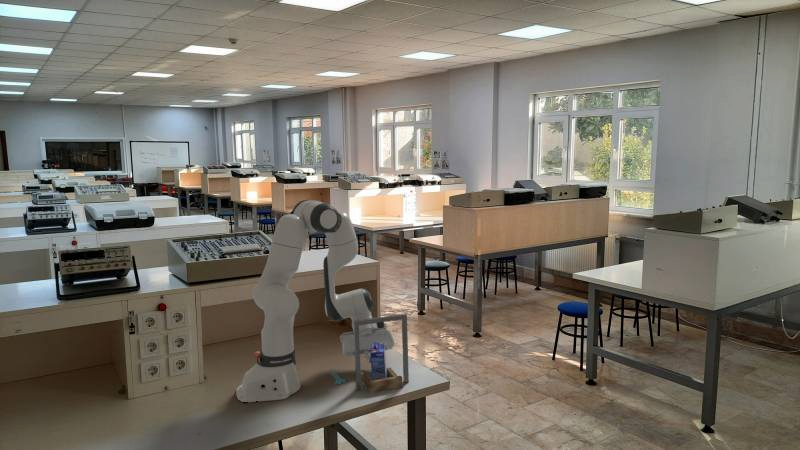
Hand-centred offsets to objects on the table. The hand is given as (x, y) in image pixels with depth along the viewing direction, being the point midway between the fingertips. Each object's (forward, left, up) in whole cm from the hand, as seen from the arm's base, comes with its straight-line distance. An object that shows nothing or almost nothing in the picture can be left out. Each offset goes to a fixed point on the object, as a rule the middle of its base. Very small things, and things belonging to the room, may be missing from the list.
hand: (372, 362), depth 212 cm
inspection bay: (0, -9, -4) cm, 10 cm away
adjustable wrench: (-14, +2, -5) cm, 15 cm away
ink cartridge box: (+1, -6, -4) cm, 7 cm away
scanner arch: (0, -12, -4) cm, 13 cm away
